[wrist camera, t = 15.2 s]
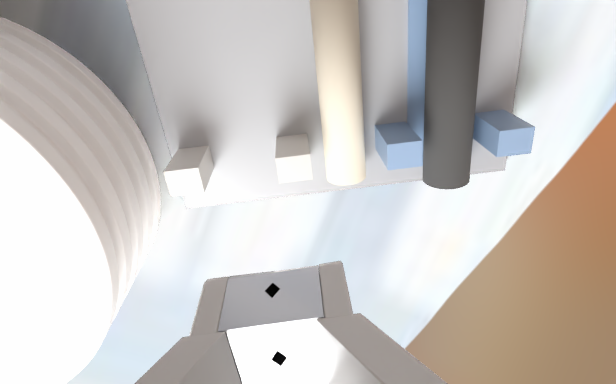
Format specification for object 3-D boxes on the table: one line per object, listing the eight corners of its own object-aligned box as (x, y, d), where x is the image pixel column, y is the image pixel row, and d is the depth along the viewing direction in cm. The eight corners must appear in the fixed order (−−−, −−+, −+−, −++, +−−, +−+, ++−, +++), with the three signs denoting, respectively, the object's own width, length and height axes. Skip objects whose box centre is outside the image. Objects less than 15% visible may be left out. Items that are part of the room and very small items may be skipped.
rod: (306, -14, 27) (309, -14, 24) (353, -20, 27) (360, -21, 24) (324, 170, 34) (328, 187, 31) (362, 166, 34) (369, 182, 31)
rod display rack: (123, -25, 27) (88, -27, 22) (529, -75, 27) (582, -88, 22) (188, 203, 36) (173, 237, 31) (499, 165, 35) (533, 194, 31)
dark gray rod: (421, -45, 27) (439, -49, 23) (474, -51, 26) (500, -57, 23) (417, 172, 34) (430, 191, 31) (458, 167, 34) (476, 186, 31)
